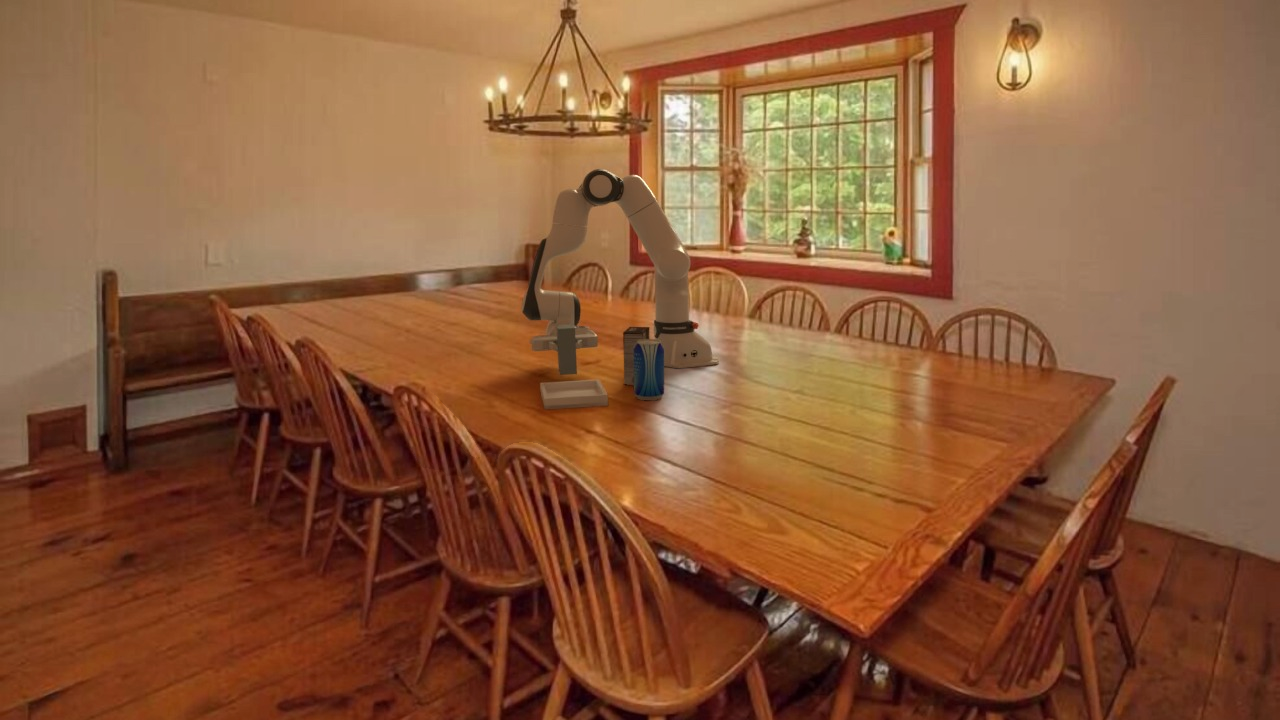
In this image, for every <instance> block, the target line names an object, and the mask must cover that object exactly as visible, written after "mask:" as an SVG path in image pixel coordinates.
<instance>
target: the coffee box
mask: <svg viewBox="0 0 1280 720" xmlns="http://www.w3.org/2000/svg"><path fill="white" fill-rule="evenodd" d="M650 329H651V327H650V326H629V327H627V328H626V329H625V330H624V331H623V332H622V334H623V337H622V338H623V339H622V341H623V342H622V343H623V384H624V385H625V384H627V386H634V348H635V346H636V345H637V341H638V340H643V339H650Z"/></svg>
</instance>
